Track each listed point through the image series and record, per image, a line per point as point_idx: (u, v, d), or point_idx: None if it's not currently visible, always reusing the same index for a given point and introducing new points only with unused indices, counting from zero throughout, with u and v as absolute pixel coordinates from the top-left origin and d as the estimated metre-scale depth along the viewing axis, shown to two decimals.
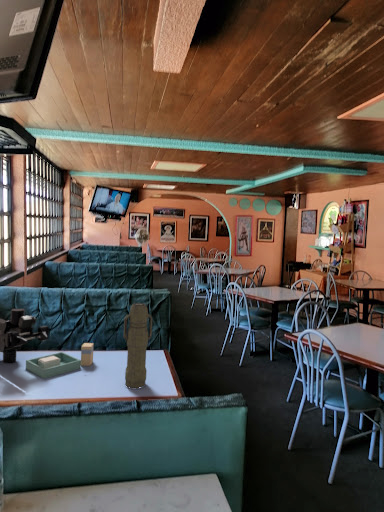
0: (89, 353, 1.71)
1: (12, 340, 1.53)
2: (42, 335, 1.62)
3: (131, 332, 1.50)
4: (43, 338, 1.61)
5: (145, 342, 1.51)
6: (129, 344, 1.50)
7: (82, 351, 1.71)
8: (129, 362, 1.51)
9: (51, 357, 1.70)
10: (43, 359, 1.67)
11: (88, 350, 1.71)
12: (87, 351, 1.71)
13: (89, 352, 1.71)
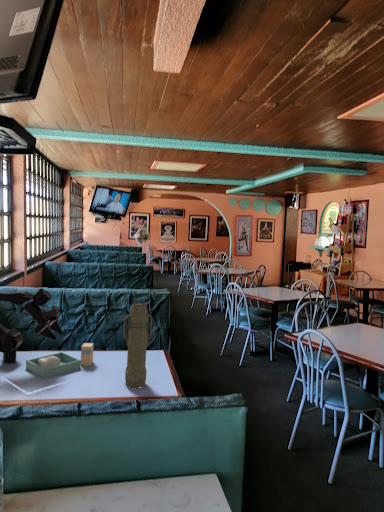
0: (89, 353, 1.71)
1: (43, 330, 1.64)
2: (56, 326, 1.76)
3: (131, 332, 1.50)
4: (55, 329, 1.76)
5: (145, 342, 1.51)
6: (129, 344, 1.50)
7: (82, 351, 1.71)
8: (129, 362, 1.51)
9: (51, 357, 1.70)
10: (43, 359, 1.67)
11: (88, 350, 1.71)
12: (87, 351, 1.71)
13: (89, 352, 1.71)
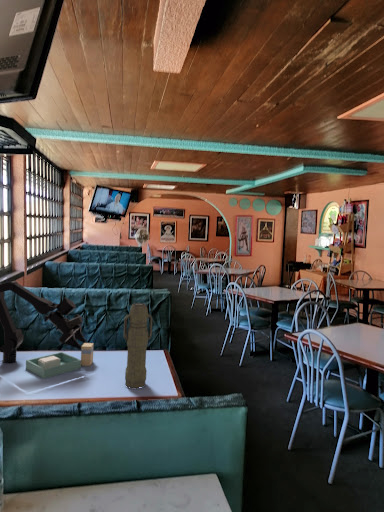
0: (89, 353, 1.71)
1: (68, 340, 1.65)
2: (79, 335, 1.78)
3: (131, 332, 1.50)
4: (78, 338, 1.78)
5: (145, 342, 1.51)
6: (129, 344, 1.50)
7: (82, 351, 1.71)
8: (129, 362, 1.51)
9: (51, 357, 1.70)
10: (43, 359, 1.67)
11: (88, 350, 1.71)
12: (87, 351, 1.71)
13: (89, 352, 1.71)
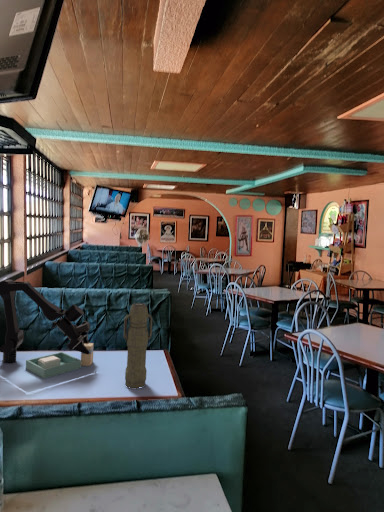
0: (89, 353, 1.71)
1: (77, 346, 1.67)
2: (85, 342, 1.77)
3: (131, 332, 1.50)
4: None
5: (145, 342, 1.51)
6: (129, 344, 1.50)
7: None
8: (129, 362, 1.51)
9: (51, 357, 1.70)
10: (43, 359, 1.67)
11: (88, 350, 1.71)
12: None
13: (89, 352, 1.71)
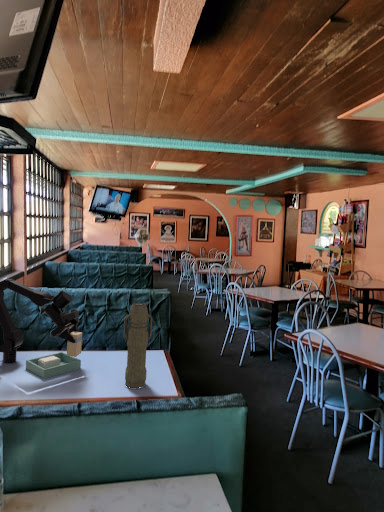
0: (75, 342, 1.65)
1: (62, 333, 1.62)
2: (74, 331, 1.71)
3: (131, 332, 1.50)
4: None
5: (145, 342, 1.51)
6: (129, 344, 1.50)
7: None
8: (129, 362, 1.51)
9: (51, 357, 1.70)
10: (43, 359, 1.67)
11: (74, 338, 1.65)
12: None
13: (75, 341, 1.65)
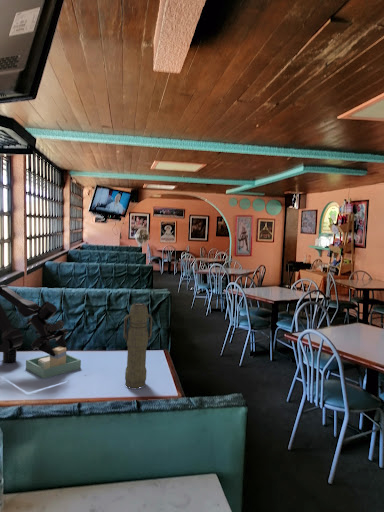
0: (57, 358, 1.60)
1: (41, 346, 1.57)
2: (61, 342, 1.68)
3: (131, 332, 1.50)
4: (60, 345, 1.68)
5: (145, 342, 1.51)
6: (129, 344, 1.50)
7: (50, 355, 1.61)
8: (129, 362, 1.51)
9: None
10: (43, 359, 1.67)
11: (56, 354, 1.60)
12: (55, 355, 1.60)
13: (57, 357, 1.60)
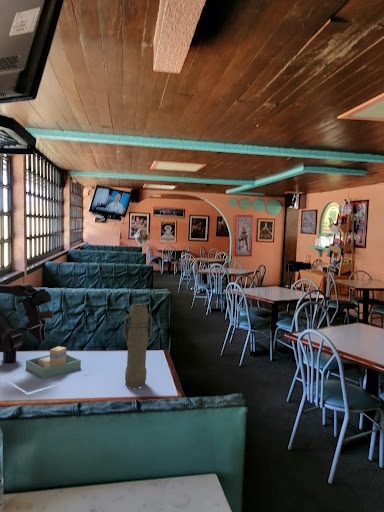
0: (57, 358, 1.60)
1: (34, 328, 1.60)
2: (41, 330, 1.72)
3: (131, 332, 1.50)
4: None
5: (145, 342, 1.51)
6: (129, 344, 1.50)
7: (50, 355, 1.61)
8: (129, 362, 1.51)
9: None
10: (43, 359, 1.67)
11: (56, 354, 1.60)
12: (55, 355, 1.60)
13: (57, 357, 1.60)
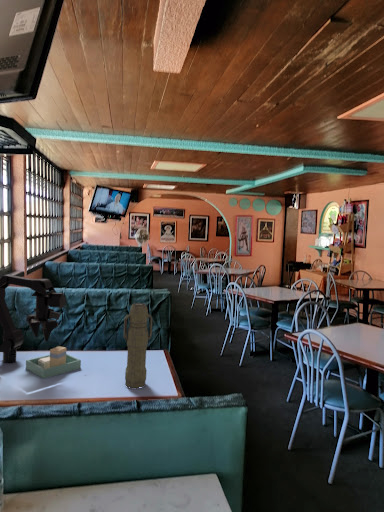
0: (57, 358, 1.60)
1: None
2: (36, 327, 1.72)
3: (131, 332, 1.50)
4: (34, 329, 1.71)
5: (145, 342, 1.51)
6: (129, 344, 1.50)
7: (50, 355, 1.61)
8: (129, 362, 1.51)
9: None
10: (43, 359, 1.67)
11: (56, 354, 1.60)
12: (55, 355, 1.60)
13: (57, 357, 1.60)
